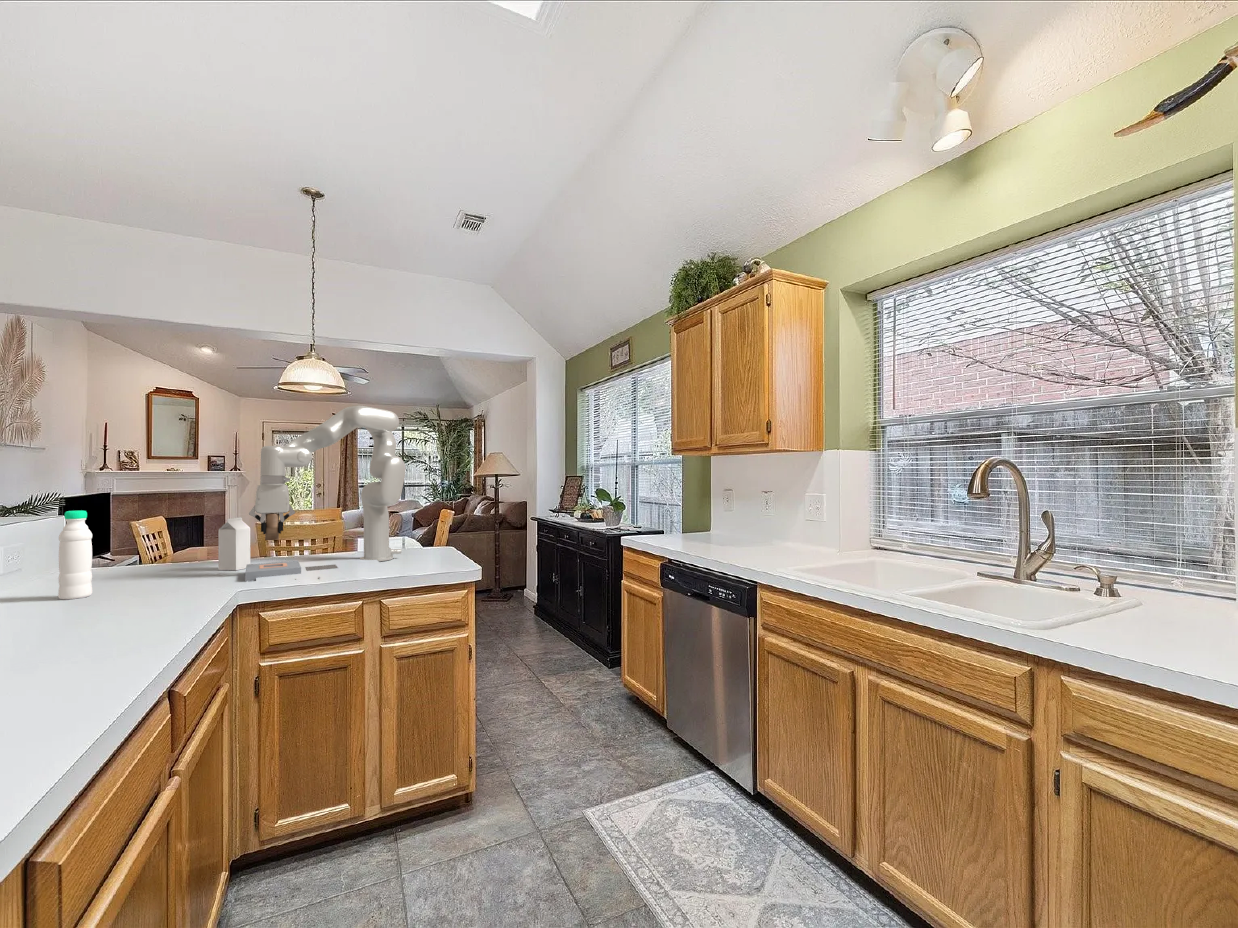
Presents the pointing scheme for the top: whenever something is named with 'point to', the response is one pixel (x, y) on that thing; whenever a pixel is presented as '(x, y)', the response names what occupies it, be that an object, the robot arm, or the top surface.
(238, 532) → the milk carton
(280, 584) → the top surface
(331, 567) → the tongue
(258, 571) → the hole plate
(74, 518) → the milk bottle
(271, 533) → the peg
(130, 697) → the top surface
